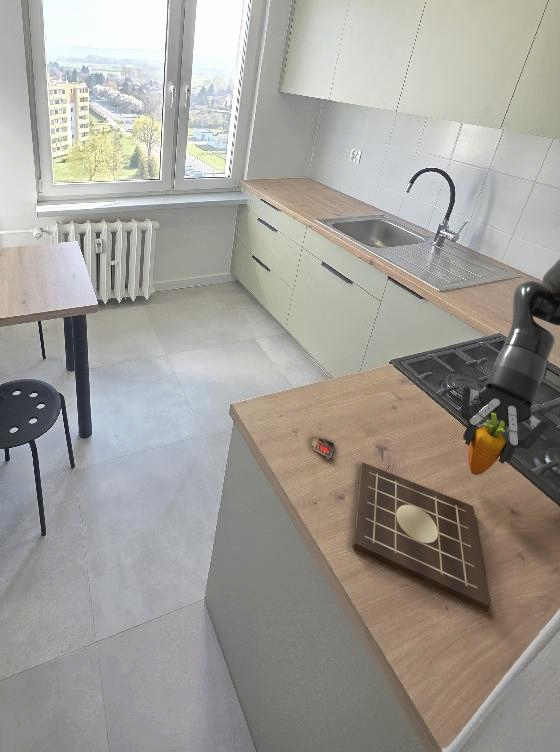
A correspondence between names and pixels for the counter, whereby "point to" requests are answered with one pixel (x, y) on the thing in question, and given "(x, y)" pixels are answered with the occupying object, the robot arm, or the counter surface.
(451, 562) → the game board
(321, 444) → the matchbox
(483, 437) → the carrot
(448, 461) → the counter surface
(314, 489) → the counter surface
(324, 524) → the counter surface
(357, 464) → the counter surface
